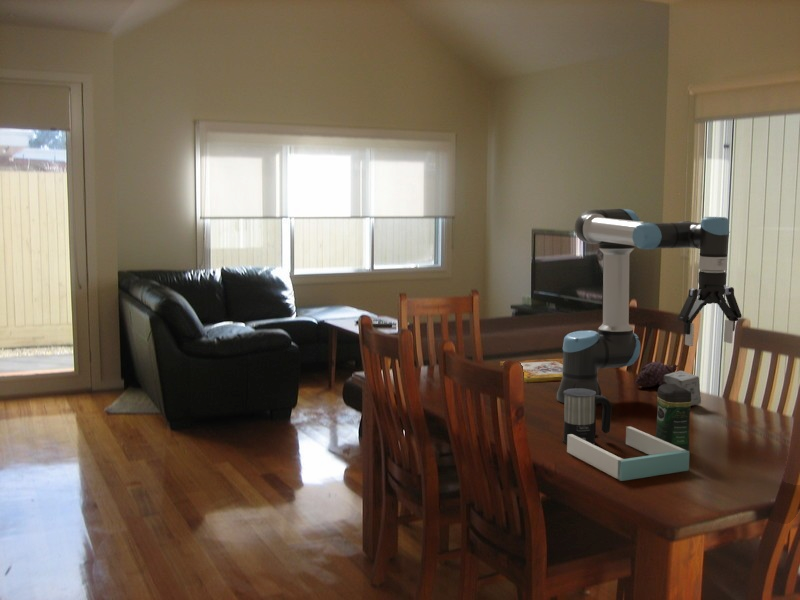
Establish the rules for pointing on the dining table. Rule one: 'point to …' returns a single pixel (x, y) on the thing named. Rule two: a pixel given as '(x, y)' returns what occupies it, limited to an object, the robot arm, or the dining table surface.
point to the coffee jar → (673, 415)
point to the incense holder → (686, 384)
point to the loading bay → (656, 463)
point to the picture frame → (542, 370)
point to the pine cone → (654, 374)
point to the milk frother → (584, 414)
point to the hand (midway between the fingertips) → (708, 344)
